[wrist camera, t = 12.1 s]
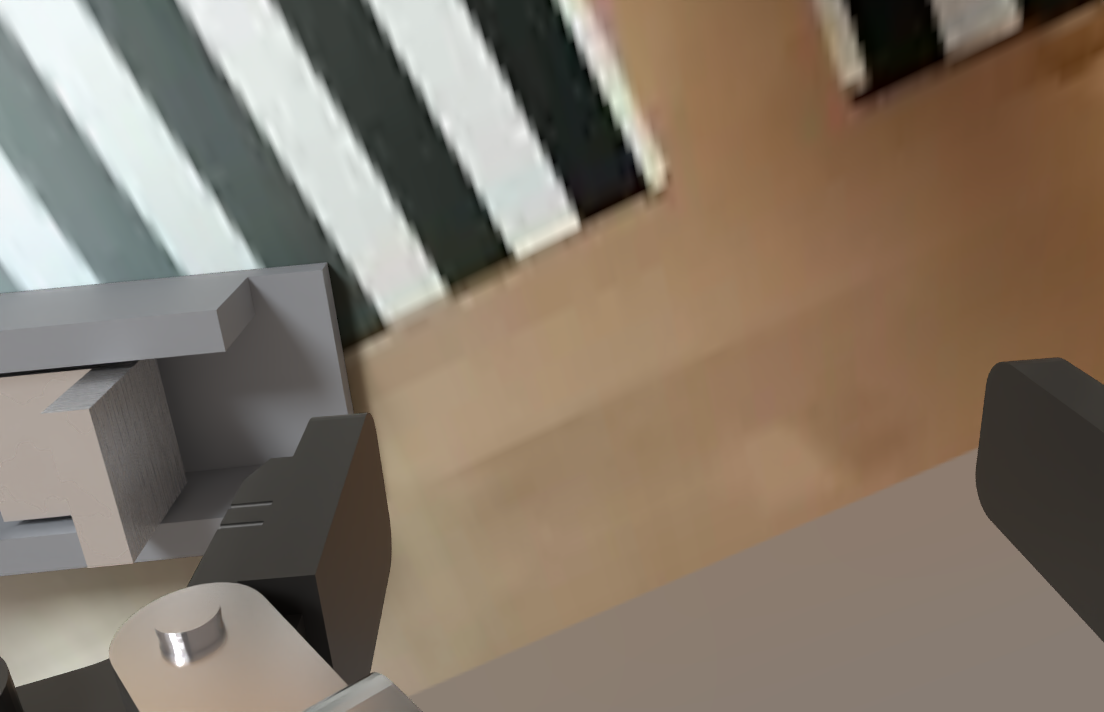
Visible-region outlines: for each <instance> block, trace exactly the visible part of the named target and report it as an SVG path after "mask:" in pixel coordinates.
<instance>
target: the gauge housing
mask: <svg viewBox="0 0 1104 712" xmlns="http://www.w3.org/2000/svg"><path fill="white" fill-rule="evenodd" d="M154 358H156V361H157V365H158V369H159V373H160V377H161V380H162V384H163V388H164V392H165V396H166V400H167V404H168V408H169V412H170V416H171V420H172V424H173V428H174V431H175V435H176V439H177V443H178V447H179V451H180V455H181V459H182V463H183V467H184V471H185V475H186V479H187V484H186V485H185V487H184V488H183V490H182V491H181V493H180V494H179V496H178V497H177V499H176V500H175V502H174V503H173V505H172V506H171V508H170V509H169V511H168V512H167V514H166V515H165V517H164V518H163V520H162V521H161V523H160V524H159V526H158V527H157V529H156V530H155V532H154V533H153V535H152V536H151V538H150V539H149V541H148V542H147V544H146V545H145V547H144V548H143V550H142V551H141V553H140V554H139V556H138V557H137V559H136V560H135V562H144V561H154V560H164V559H174V558H184V557H193V556H203V555H204V554H205V552H206V550H207V548H208V546H209V544H210V542H211V541H212V539H213V537H214V535H215V533H216V531H217V529H220V524H221V522H222V520H223V518H224V516H225V514H226V512H227V510H228V509H231V503H232V501H233V499H234V497H235V495H236V493H237V491H238V490H239V488H240V486H241V484H242V482H243V480H244V479H246V478H247V477H248V476H249V475H251V474H252V473H253V472H254V471H256V470H257V469H258V468H259V467H261V466H262V465H263V464H264V463H266V462H267V461H268V460H269V459H271V458H279V457H291V456H293V455H294V453H295V451H296V449H297V446H298V444H299V442H300V440H301V438H302V435H303V433H304V431H305V429H306V426H307V424H308V422H309V420H310V419H311V418H312V417H322V416H334V415H347V414H354V412H353V406H352V400H351V395H350V389H349V383H348V377H347V372H346V366H345V360H344V355H343V349H342V343H341V338H340V332H339V326H338V321H337V315H336V309H335V304H334V298H333V292H332V287H331V281H330V275H329V270H328V264H327V262H326V263H316V264H305V265H294V266H284V267H273V268H263V269H252V270H242V271H231V272H221V273H210V274H200V275H189V276H179V277H168V278H157V279H147V280H136V281H126V282H115V283H105V284H94V285H84V286H73V287H63V288H52V289H42V290H31V291H20V292H10V293H0V373H9V372H20V371H30V370H40V369H51V368H61V367H71V366H82V365H92V364H102V363H113V362H123V361H133V360H144V359H154ZM135 562H134V563H135ZM85 567H87V564H86V561H85V557H84V554H83V551H82V548H81V545H80V541H79V538H78V535H77V532H76V528H75V525H74V522H73V519H72V516H71V515H69V516H59V517H50V518H40V519H30V520H20V521H10V522H4V520H3V517H2V515H1V512H0V576H7V575H17V574H27V573H36V572H46V571H56V570H66V569H76V568H85Z"/></svg>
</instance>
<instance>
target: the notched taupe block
mask: <svg viewBox="0 0 1104 712" xmlns="http://www.w3.org/2000/svg"><path fill="white" fill-rule="evenodd" d="M186 484H187V479H186V475H185V471H184V467H183V463H182V459H181V455H180V451H179V447H178V443H177V439H176V435H175V431H174V428H173V424H172V420H171V416H170V412H169V408H168V404H167V400H166V396H165V392H164V388H163V384H162V380H161V377H160V373H159V369H158V365H157V361H156V358H154V359H144V360H133V361H123V362H113V363H102V364H92V365H82V366H71V367H61V368H51V369H40V370H30V371H20V372H9V373H0V512H1V515H2V517H3V520H4V522H10V521H20V520H30V519H40V518H50V517H59V516H69V515H71V516H72V519H73V522H74V525H75V528H76V532H77V535H78V538H79V541H80V545H81V548H82V551H83V554H84V557H85V561H86V564H87V567H88V568H94V567H103V566H113V565H123V564H133V563H134V562H135V560H136V559H137V557H138V556H139V554H140V553H141V551H142V550H143V548H144V547H145V545H146V544H147V542H148V541H149V539H150V538H151V536H152V535H153V533H154V532H155V530H156V529H157V527H158V526H159V524H160V523H161V521H162V520H163V518H164V517H165V515H166V514H167V512H168V511H169V509H170V508H171V506H172V505H173V503H174V502H175V500H176V499H177V497H178V496H179V494H180V493H181V491H182V490H183V488H184V487H185V485H186Z"/></svg>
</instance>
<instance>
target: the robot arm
mask: <svg viewBox="0 0 1104 712" xmlns="http://www.w3.org/2000/svg"><path fill="white" fill-rule="evenodd" d="M976 487H977V492H978V496H979V500H980V502H981V505H982V507H983V510H984V512H985V513H986V515H987V516H988V518H989V519H990V520H991V521H992V522H993V523H994V524H995V525H996V526H997V528H998V529H999V530H1000V531H1001V532H1002V533H1003V534H1004V535H1005V536H1006V537H1007V538H1008V539H1009V541H1010V542H1011V543H1012V544H1013V545H1014V546H1015V547H1016V548H1017V549H1018V550H1019V551H1020V552H1021V553H1022V555H1023V556H1024V557H1025V558H1026V559H1027V560H1028V561H1029V562H1030V563H1031V564H1032V565H1033V566H1034V567H1035V569H1036V570H1037V571H1038V572H1039V573H1040V574H1041V575H1042V576H1043V577H1044V578H1045V579H1046V580H1047V582H1048V583H1049V584H1050V585H1051V586H1052V587H1053V588H1054V589H1055V590H1056V591H1057V592H1058V593H1059V594H1060V595H1061V597H1062V598H1063V599H1064V600H1065V601H1066V602H1067V603H1068V604H1069V605H1070V606H1071V607H1072V608H1073V610H1074V611H1075V612H1076V613H1077V614H1078V615H1079V616H1080V617H1081V618H1082V619H1083V620H1084V621H1085V622H1086V623H1087V625H1088V626H1089V627H1090V628H1091V629H1092V630H1093V631H1094V632H1095V633H1096V634H1097V635H1098V636H1099V638H1100V639H1101V640H1102V641H1103V642H1104V385H1103V384H1101V383H1100V382H1098V381H1097V380H1095V379H1094V378H1092V377H1091V376H1089V375H1088V374H1086V373H1085V372H1083V371H1081V370H1080V369H1078V368H1077V367H1075V366H1074V365H1072V364H1071V363H1069V362H1068V361H1066V360H1064V359H1062V358H1058V357H1057V358H1045V359H1033V360H1020V361H1008V362H999V363H997V364H996V365H995V366H993V368H992V369H991V371H990V373H989V375H988V379H987V383H986V391H985V399H984V407H983V415H982V423H981V431H980V439H979V448H978V456H977V465H976ZM390 566H391V527H390V518H389V512H388V505H387V499H386V492H385V486H384V479H383V473H382V466H381V460H380V453H379V447H378V440H377V434H376V429H375V424H374V421H373V418H372V415H371V414H370V413H359V414H347V415H334V416H322V417H312V418H311V419H310V420H309V422H308V424H307V426H306V429H305V431H304V433H303V435H302V438H301V440H300V442H299V444H298V446H297V449H296V451H295V453H294V455H293V456H291V457H279V458H271V459H269V460H268V461H267V462H266V463H264V464H263V465H262V466H261V467H259V468H258V469H257V470H256V471H254V472H253V473H252V474H251V475H249V476H248V477H247V478H246V479H244V480H243V482H242V484H241V486H240V488H239V490H238V491H237V493H236V495H235V497H234V499H233V501H232V503H231V509H228V510H227V512H226V514H225V516H224V518H223V520H222V522H221V524H220V529H217V531H216V533H215V535H214V537H213V539H212V541H211V542H210V544H209V546H208V548H207V550H206V552H205V554H204V556H203V558H202V559H201V561H200V563H199V565H198V567H197V569H196V571H195V573H194V575H193V577H192V578H191V580H190V582H189V584H188V586H187V588H184V589H181V590H177V591H175V592H172V593H170V594H167V595H165V596H163V597H161V598H159V599H156V600H154V601H153V602H151V603H149V604H148V605H146V606H144V607H143V608H141V609H140V610H138V611H137V612H136V613H134V614H133V615H132V616H131V617H130V618H129V619H127V620H126V621H125V622H124V623H123V624H122V626H121V627H120V628H119V629H118V631H117V632H116V633H115V635H114V637H113V639H112V641H111V644H110V647H109V659H107V660H104V661H102V662H99V663H96V664H93V665H90V666H87V667H84V668H81V669H78V670H74V671H71V672H67V673H64V674H60V675H57V676H54V677H50V678H47V679H43V680H40V681H36V682H33V683H30V684H26V685H23V686H19V687H16V688H15V686H14V683H13V680H12V678H11V675H10V672H9V669H8V667H7V665H6V663H5V661H4V660H3V659H2V658H1V657H0V712H422V711H421V710H420V709H419V708H418V707H417V706H416V705H415V704H414V703H413V702H412V701H411V700H410V699H409V698H408V697H407V696H406V695H405V694H404V693H403V692H402V691H401V690H400V689H399V688H398V687H397V686H396V685H395V684H394V683H393V682H392V681H390V680H389V679H388V678H387V677H385V676H384V675H382V674H379V673H376V672H374V673H370V671H371V666H372V660H373V655H374V650H375V645H376V640H377V635H378V629H379V624H380V619H381V614H382V609H383V603H384V598H385V593H386V588H387V583H388V577H389V572H390Z"/></svg>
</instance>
